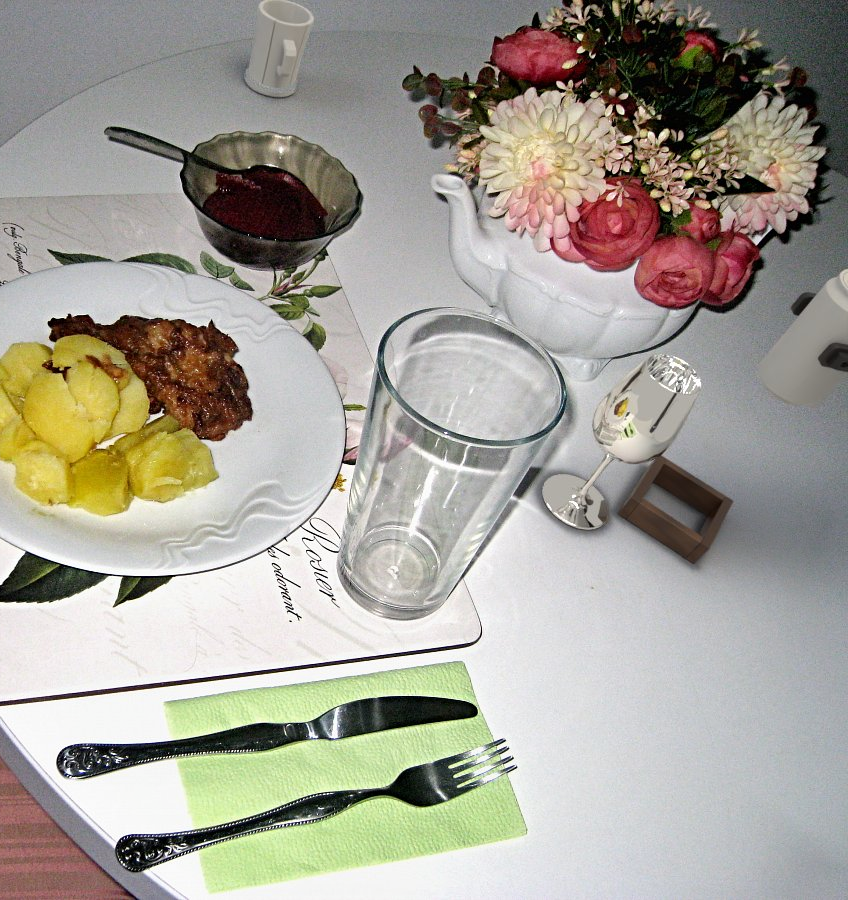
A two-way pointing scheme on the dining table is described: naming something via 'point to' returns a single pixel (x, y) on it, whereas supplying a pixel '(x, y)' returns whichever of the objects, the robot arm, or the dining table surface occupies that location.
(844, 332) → the beverage can
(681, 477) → the frame
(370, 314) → the dining table surface
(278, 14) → the cup
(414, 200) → the dining table surface
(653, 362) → the wineglass
